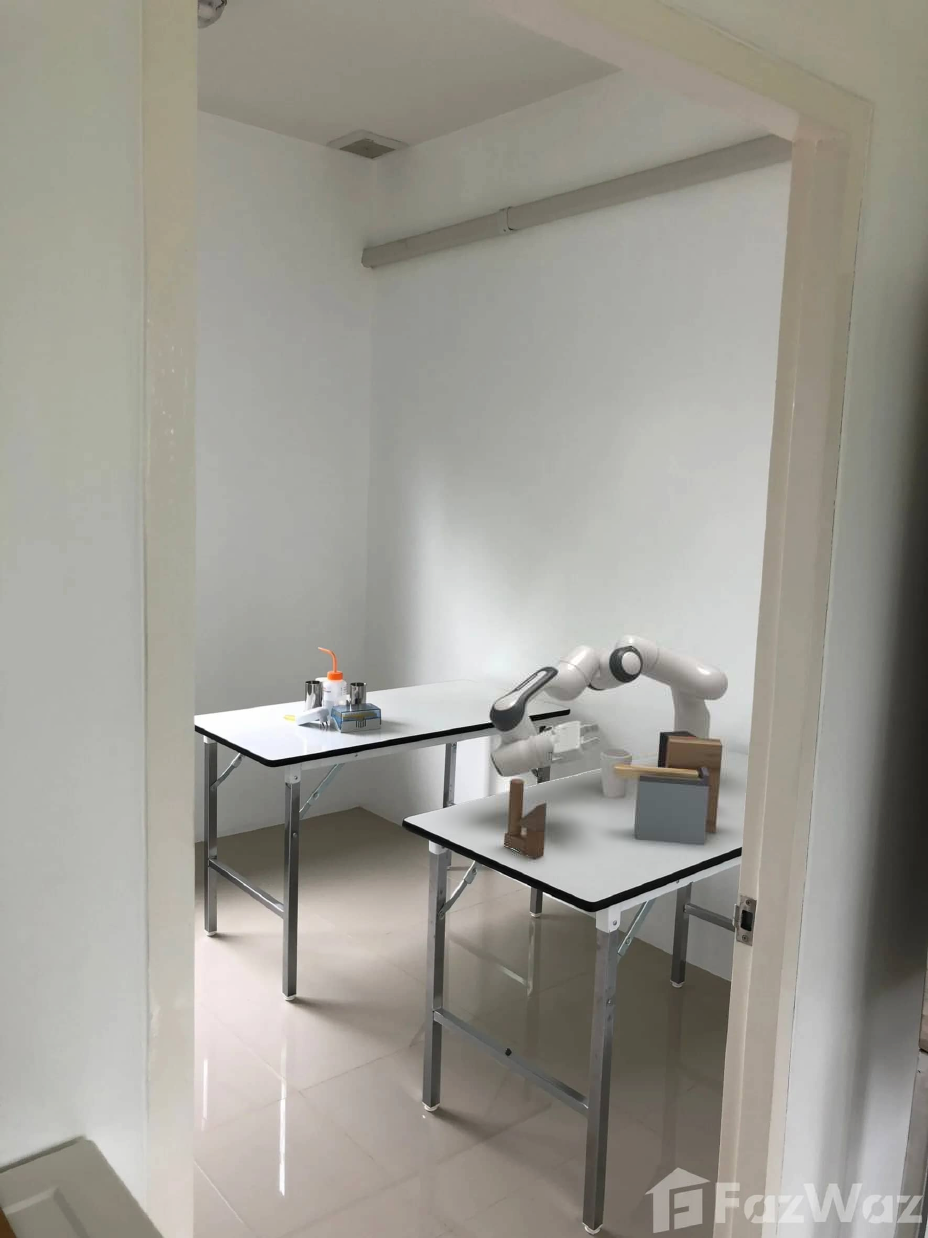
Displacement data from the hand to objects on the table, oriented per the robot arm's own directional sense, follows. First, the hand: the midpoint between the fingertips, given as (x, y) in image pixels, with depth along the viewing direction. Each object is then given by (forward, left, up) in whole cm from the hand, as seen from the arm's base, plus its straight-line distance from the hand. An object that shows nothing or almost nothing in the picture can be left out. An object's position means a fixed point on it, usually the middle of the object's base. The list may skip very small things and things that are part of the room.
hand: (598, 733), depth 256 cm
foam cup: (-32, +6, -28) cm, 43 cm away
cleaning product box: (-28, +26, -28) cm, 48 cm away
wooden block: (+18, -18, -28) cm, 37 cm away
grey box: (-1, +20, -28) cm, 34 cm away
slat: (-1, +16, -12) cm, 20 cm away
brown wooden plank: (-9, +26, -28) cm, 39 cm away
